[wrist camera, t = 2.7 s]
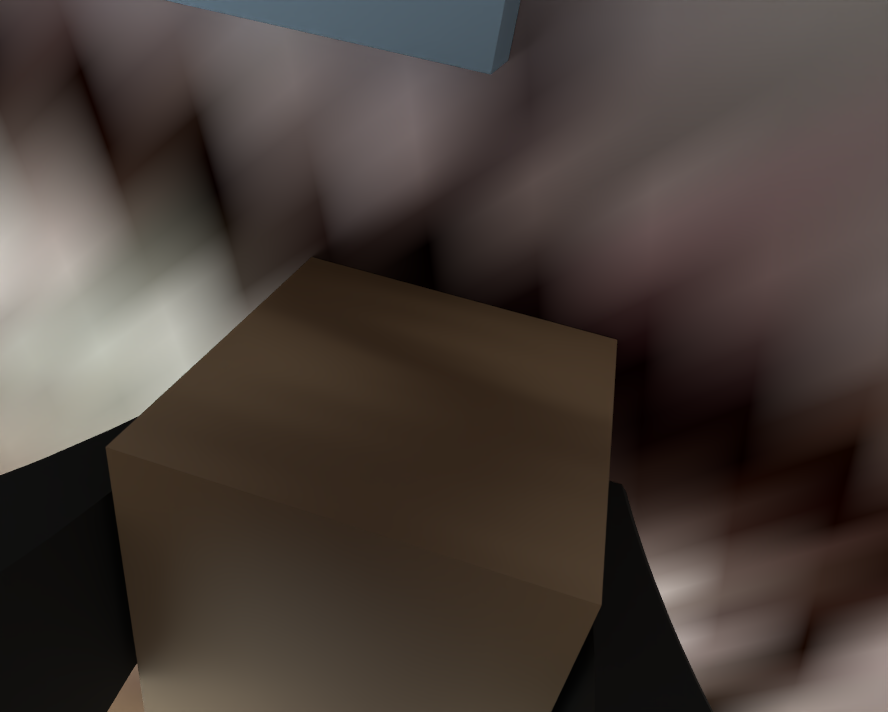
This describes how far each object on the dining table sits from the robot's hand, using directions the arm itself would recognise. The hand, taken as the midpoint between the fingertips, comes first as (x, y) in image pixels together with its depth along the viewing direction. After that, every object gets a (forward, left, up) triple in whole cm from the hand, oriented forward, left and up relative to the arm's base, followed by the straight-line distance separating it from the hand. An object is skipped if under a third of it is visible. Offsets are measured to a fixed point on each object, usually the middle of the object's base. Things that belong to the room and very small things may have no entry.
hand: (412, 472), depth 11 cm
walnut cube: (0, 0, -1) cm, 1 cm away
